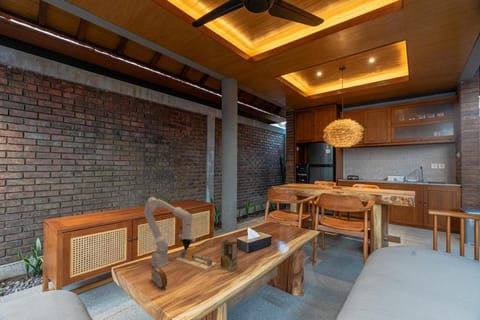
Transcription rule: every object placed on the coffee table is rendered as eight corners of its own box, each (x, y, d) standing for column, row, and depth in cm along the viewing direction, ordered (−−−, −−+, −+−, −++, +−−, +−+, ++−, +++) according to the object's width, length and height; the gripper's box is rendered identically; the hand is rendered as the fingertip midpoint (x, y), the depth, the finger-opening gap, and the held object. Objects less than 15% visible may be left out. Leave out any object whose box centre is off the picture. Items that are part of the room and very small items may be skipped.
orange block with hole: (195, 257, 151) (196, 247, 151) (190, 260, 147) (191, 249, 147) (191, 256, 153) (191, 246, 153) (186, 258, 149) (186, 248, 149)
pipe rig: (216, 264, 145) (216, 256, 145) (206, 270, 136) (206, 261, 136) (186, 255, 159) (186, 247, 159) (175, 260, 150) (176, 252, 151)
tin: (167, 289, 115) (167, 273, 115) (161, 291, 113) (162, 275, 113) (155, 278, 126) (156, 263, 126) (150, 280, 124) (150, 265, 124)
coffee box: (237, 267, 141) (238, 242, 141) (232, 271, 135) (232, 245, 136) (225, 264, 146) (226, 239, 146) (220, 267, 140) (220, 242, 141)
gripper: (198, 230, 152) (198, 250, 152) (183, 227, 160) (183, 246, 160) (191, 233, 146) (191, 253, 146) (176, 229, 154) (175, 249, 154)
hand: (186, 249), depth 152 cm, fingers closed
